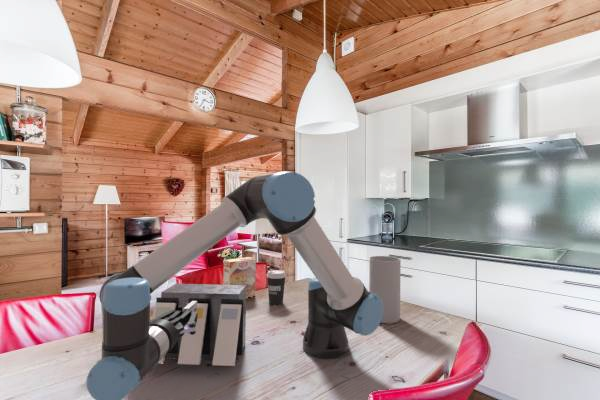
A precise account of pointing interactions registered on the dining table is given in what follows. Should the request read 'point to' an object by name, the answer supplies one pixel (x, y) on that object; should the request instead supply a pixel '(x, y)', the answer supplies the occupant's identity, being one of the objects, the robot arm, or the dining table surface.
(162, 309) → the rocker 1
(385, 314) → the cylinder vase
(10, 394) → the dining table surface
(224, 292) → the card holder crate
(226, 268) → the coffeecake box
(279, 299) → the coffee cup
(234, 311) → the cream flat slab
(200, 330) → the cream flat slab
